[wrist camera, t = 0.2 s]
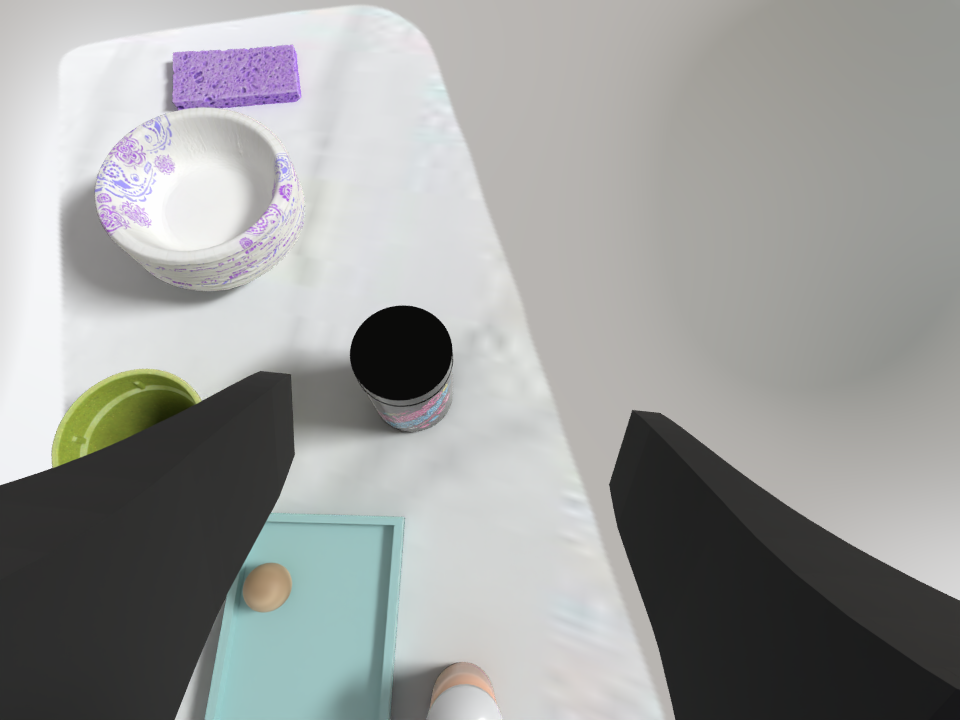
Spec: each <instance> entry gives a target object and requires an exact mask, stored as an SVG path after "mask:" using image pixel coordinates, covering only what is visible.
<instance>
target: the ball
mask: <svg viewBox="0 0 960 720" xmlns="http://www.w3.org/2000/svg"><path fill="white" fill-rule="evenodd" d="M291 589H292V578H291V575H290V573H289V571H288V570H287V569H286V568H285V567H284V566H282V565H280V564H278V563H265V564H262V565H260V566H258V567H256V568H255V569H254V570H252V571H251V572H250V574H249V575H248V576H247V578H246V580H245V582H244V586H243V597H244V600H245V602H246V604H247V605H248V606H249V607H250V608H251V609H252V610H254V611H257V612H262V613H264V612H271V611H273V610H276V609H277V608H279V607H280V606H282V605H283V604H284V603H285V601H286V600H287V599H288V597H289V595H290V593H291Z"/></svg>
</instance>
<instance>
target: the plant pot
mask: <svg viewBox="0 0 960 720" xmlns="http://www.w3.org/2000/svg"><path fill="white" fill-rule="evenodd" d="M199 402H201V399H200V397H199V395H198V394H197V393H196V391H195V390H194V389H193V388H192V387H191V386H190V385H189V384H188V383H187V382H185V381H184V380H182V379H181V378H179V377H177V376H176V375H173V374H171V373H168V372H166V371H161V370H155V369H136V370H130V371H125V372H121V373H118V374H115V375H112V376H110V377H108V378H106V379H104V380H102V381H100V382H99V383H97V384H95V385H94V386H92V387H91V388H89V389H88V390H87V391H86V392H85V393H83V394H82V395H81V396H80V397H79V398H78V399H77V400H76V401H75V402H74V403H73V404H72V406H71V407H70V408H69V410H68V411H67V412H66V414H65V415H64V417H63V419H62V420H61V422H60V424H59V426H58V429H57V431H56V434H55V438H54V441H53V446H52V467H53V468H54V467H57V466H60V465H62V464H65V463H67V462H70V461H72V460H75V459H78V458H80V457H83V456H85V455H88V454H91V453H93V452H95V451H98V450H100V449H103V448H105V447H107V446H110V445H112V444H114V443H117V442H119V441H121V440H124V439H126V438H128V437H130V436H132V435H134V434H136V433H138V432H141V431H143V430H145V429H147V428H149V427H151V426H153V425H155V424H157V423H159V422H161V421H164V420H166V419H168V418H170V417H172V416H174V415H176V414H178V413H180V412H182V411H184V410H186V409H188V408H190V407H191V406H193V405H195V404H197V403H199Z"/></svg>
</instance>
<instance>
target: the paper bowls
mask: <svg viewBox="0 0 960 720" xmlns="http://www.w3.org/2000/svg"><path fill="white" fill-rule="evenodd" d="M95 205H96V210H97V214H98V217H99V220H100V222H101V224H102V226H103V227H104V229H105V231H106V232H107V234H108V235H109V236H110V238H111V239H112V240H113V241H114V242H115V243H116V244H117V245H118V246H120V247H121V248H122V249H123V250H124V251H125V252H126V253H128V254H129V255H130V256H131V257H132V258H133V259H134V260H136V261H137V262H138V263H139V264H141V265H142V266H143V267H144V268H145V269H146V270H147V271H149V272H150V273H151V274H152V275H154V276H155V277H157V278H158V279H160V280H162V281H164V282H166V283H169V284H171V285H174V286H177V287H180V288H183V289H189V290H195V291H220V290H229V289H231V288H235V287H238V286H241V285H245V284H247V283H249V282H251V281H253V280H255V279H256V278H258V277H260V276H261V275H263V274H265V273H266V272H268V271H270V270H271V269H272V268H273V267H274V266H276V265H277V264H278V262H279V261H281V260H283V259H284V257H285V256H286V255H287V254H288V253H289V251H290V250H291V249H292V247H293V246H294V244H295V243H296V241H297V239H298V237H299V235H300V232H301V230H302V227H303V224H304V218H305V200H304V194H303V190H302V186H301V184H300V181H299V179H298V177H297V174H296V171H295V169H294V166H293V164H292V162H291V160H290V157H289V154H288V152H287V150H286V148H285V147H284V145H283V144H282V142H281V141H280V140H279V139H278V137H277V136H276V135H275V134H274V133H273V132H272V131H271V130H270V129H268V128H267V127H266V126H264V125H263V124H261V123H260V122H258V121H257V120H255V119H253V118H251V117H249V116H246V115H244V114H241V113H238V112H235V111H231V110H226V109H220V108H204V107H201V108H189V109H183V110H178V111H173V112H170V113H166V114H164V115H161V116H158V117H156V118H153V119H151V120H149V121H147V122H145V123H143V124H142V125H140V126H138V127H136V128H135V129H134V130H132V131H131V132H129V133H128V134H127V135H126V136H125V137H123V138H122V139H121V140H120V141H119V142H118V143H117V144H116V145H115V146H114V148H113V149H112V150H111V152H110V153H109V154H108V156H107V157H106V159H105V160H104V162H103V164H102V166H101V169H100V171H99V173H98V177H97V180H96V184H95Z"/></svg>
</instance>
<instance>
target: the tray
mask: <svg viewBox="0 0 960 720" xmlns="http://www.w3.org/2000/svg"><path fill="white" fill-rule="evenodd" d="M404 524H405V518H404V517H387V516H353V515H320V514H286V513H270V515H269V517H268V519H267V521H266V523H265V525H264V527H263V528H262V530H261V532H260V534H259V536H258V538H257V540H256V541H255V543H254V545H253V547H252V549H251V551H250V553H249V554H248V556H247V558H246V560H245V562H244V564H243V566H242V567H241V569H240V571H239V573H238V575H237V577H236V579H235V580H234V582H233V584H232V586H231V588H230V590H229V592H228V594H227V598H226V603H225V609H224V615H223V620H222V626H221V631H220V637H219V642H218V648H217V654H216V659H215V665H214V670H213V676H212V681H211V687H210V693H209V698H208V704H207V709H206V715H205V720H390V713H391V700H392V686H393V673H394V659H395V646H396V632H397V618H398V605H399V591H400V578H401V564H402V551H403V537H404ZM265 563H278V564H280V565H282V566H284V567H285V568H286V569H287V570H288V571H289V573H290V575H291V578H292V589H291V593H290V595H289V597H288V599H287V600H286V601H285V603H284V604H283V605H282V606H280V607H279V608H277V609H276V610H273V611H271V612H264V613H262V612H257V611H254V610H252V609H251V608H250V607H249V606H248V605H247V604H246V602H245V600H244V597H243V586H244V582H245V580H246V578H247V576H248V575H249V574H250V572H251V571H252V570H254V569H255V568H256V567H258V566H260V565H262V564H265Z"/></svg>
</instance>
